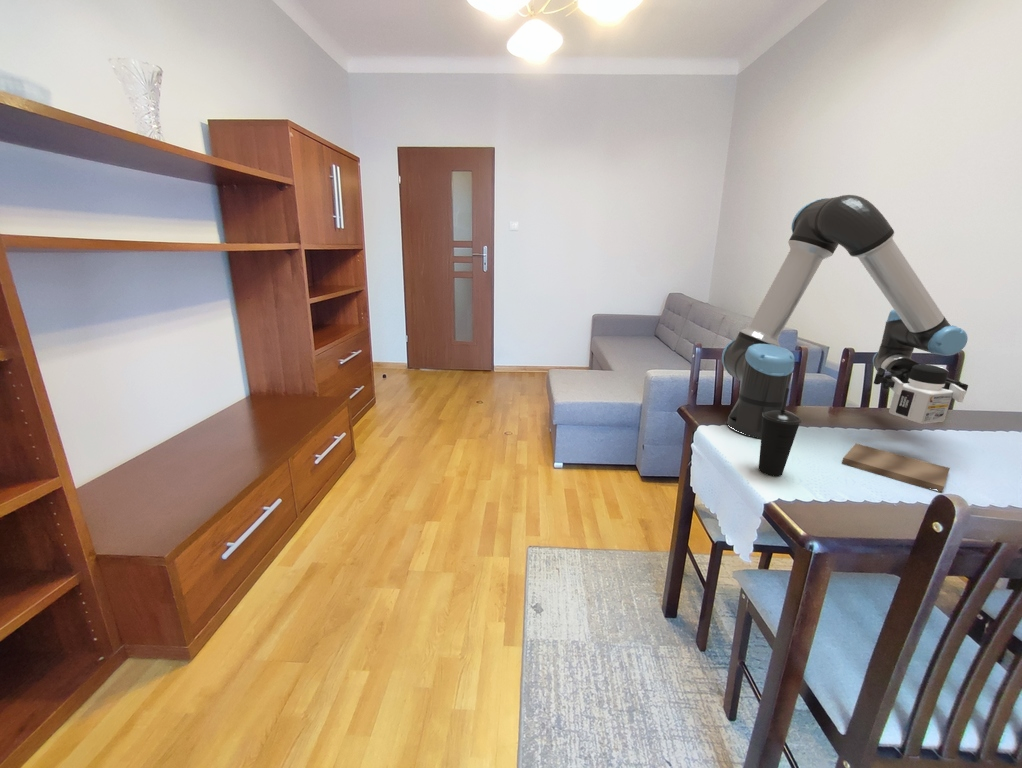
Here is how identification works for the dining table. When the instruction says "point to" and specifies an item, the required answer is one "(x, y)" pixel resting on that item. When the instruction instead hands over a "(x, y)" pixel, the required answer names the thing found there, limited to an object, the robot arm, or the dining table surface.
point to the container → (923, 395)
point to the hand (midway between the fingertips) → (930, 392)
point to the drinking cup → (777, 438)
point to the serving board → (897, 467)
